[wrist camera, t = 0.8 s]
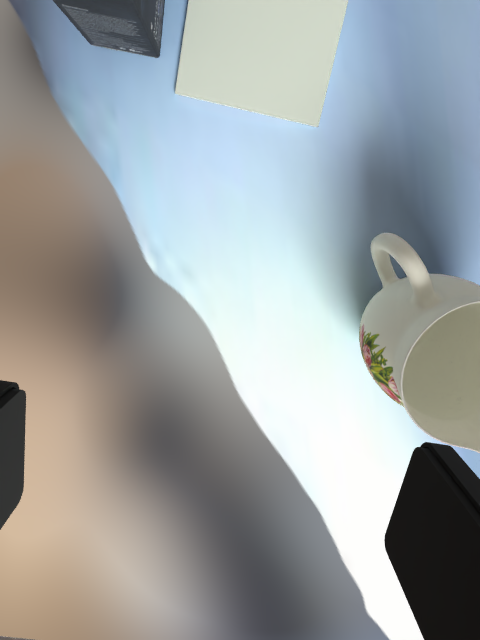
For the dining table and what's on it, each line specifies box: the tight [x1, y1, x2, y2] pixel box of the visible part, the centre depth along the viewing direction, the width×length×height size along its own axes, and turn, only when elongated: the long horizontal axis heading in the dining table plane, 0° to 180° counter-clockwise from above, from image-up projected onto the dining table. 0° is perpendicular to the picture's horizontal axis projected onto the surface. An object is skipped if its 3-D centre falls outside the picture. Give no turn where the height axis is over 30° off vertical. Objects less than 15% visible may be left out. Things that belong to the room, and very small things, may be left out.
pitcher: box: [359, 233, 480, 453], centre depth 33 cm, size 11×18×14 cm, turn 31°
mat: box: [175, 0, 348, 127], centre depth 33 cm, size 12×12×1 cm
